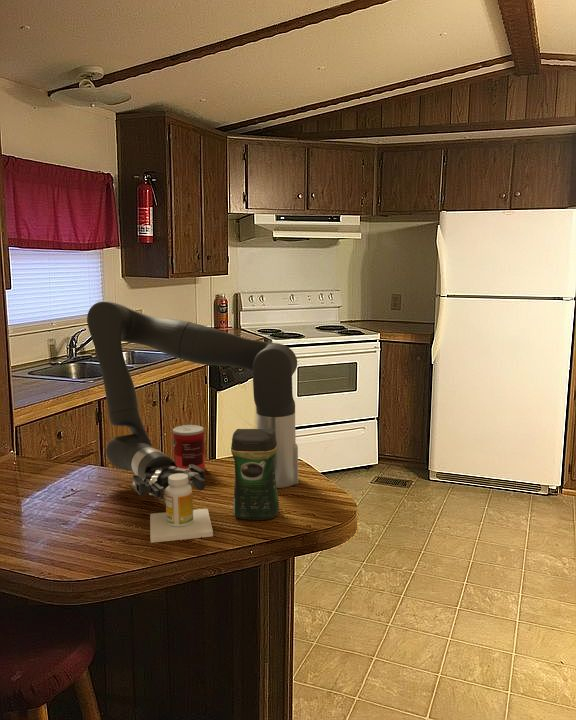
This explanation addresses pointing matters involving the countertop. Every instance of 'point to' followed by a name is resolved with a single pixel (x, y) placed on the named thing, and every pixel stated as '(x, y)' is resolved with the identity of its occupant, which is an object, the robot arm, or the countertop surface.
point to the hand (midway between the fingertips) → (182, 489)
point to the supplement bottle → (179, 501)
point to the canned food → (189, 446)
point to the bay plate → (169, 533)
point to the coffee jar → (255, 474)
